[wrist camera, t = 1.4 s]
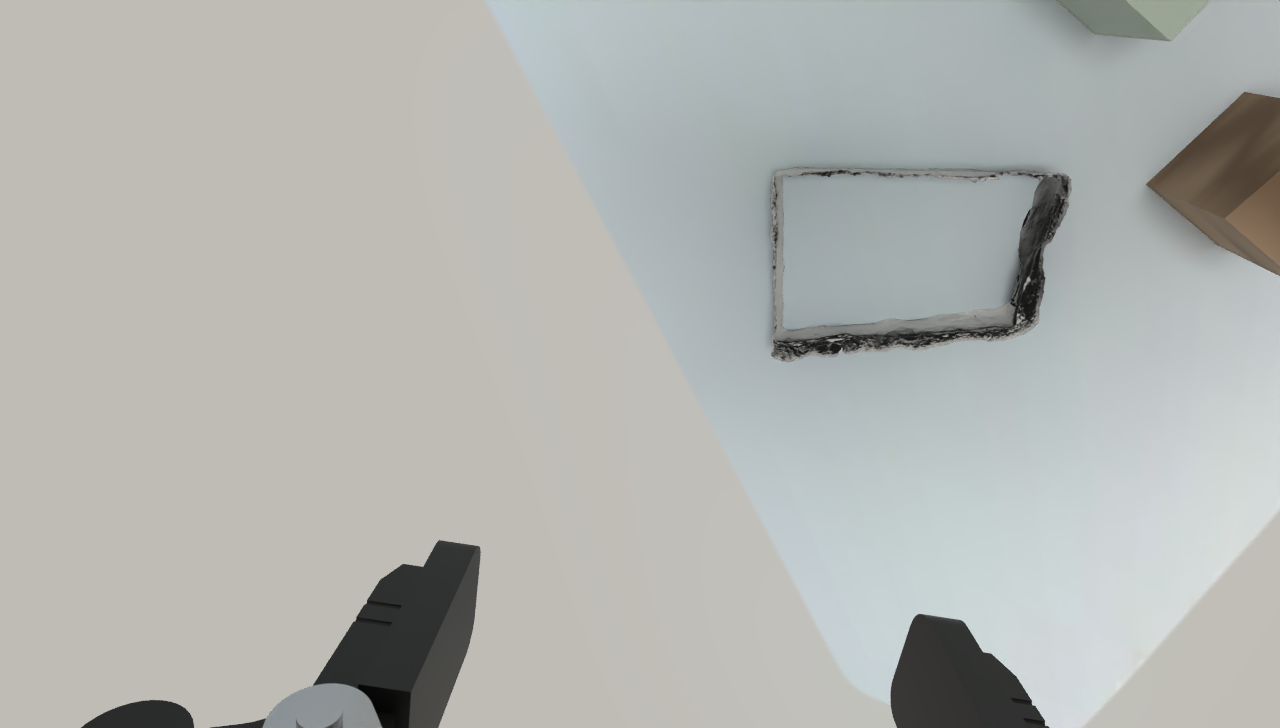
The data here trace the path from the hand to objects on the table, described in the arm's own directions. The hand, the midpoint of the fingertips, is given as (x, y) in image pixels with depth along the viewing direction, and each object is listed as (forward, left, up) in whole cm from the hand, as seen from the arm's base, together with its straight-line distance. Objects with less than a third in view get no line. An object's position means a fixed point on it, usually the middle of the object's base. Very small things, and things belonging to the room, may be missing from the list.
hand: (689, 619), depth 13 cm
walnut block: (-16, +18, -27) cm, 36 cm away
